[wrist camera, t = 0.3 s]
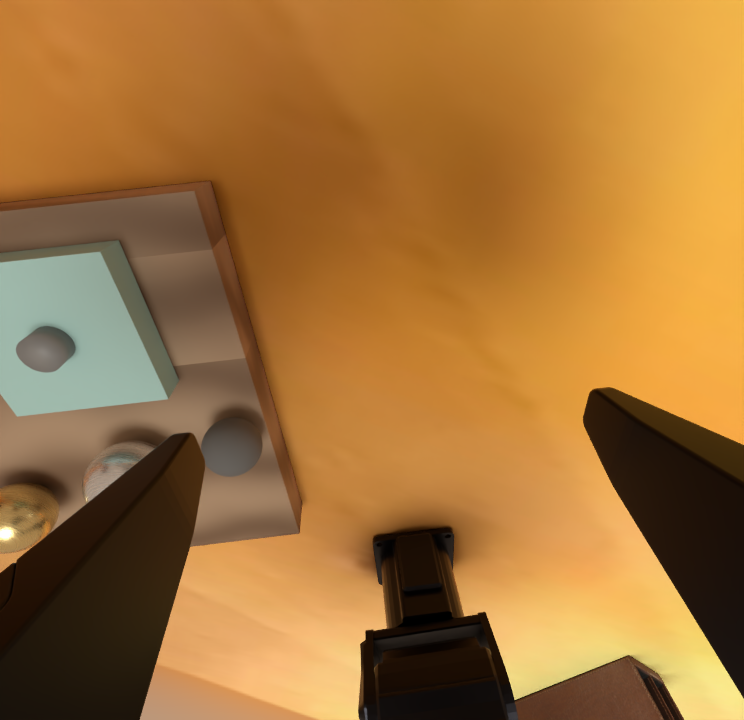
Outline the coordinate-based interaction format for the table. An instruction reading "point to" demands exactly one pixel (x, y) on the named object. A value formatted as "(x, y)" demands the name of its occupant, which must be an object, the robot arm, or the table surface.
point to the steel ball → (112, 465)
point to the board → (183, 345)
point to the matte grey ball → (231, 447)
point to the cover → (77, 332)
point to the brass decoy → (26, 515)
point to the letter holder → (603, 696)
